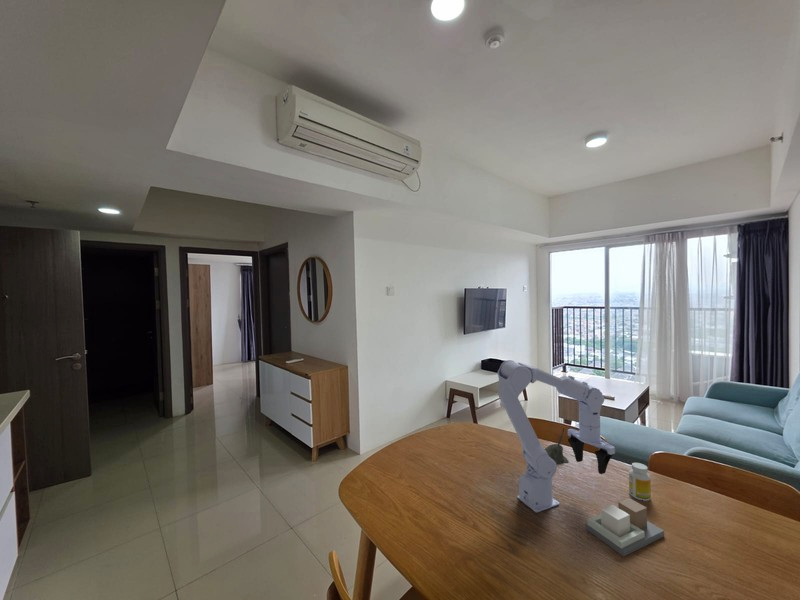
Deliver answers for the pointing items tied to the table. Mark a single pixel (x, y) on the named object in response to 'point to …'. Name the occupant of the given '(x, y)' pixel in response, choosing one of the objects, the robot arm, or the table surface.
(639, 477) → the supplement bottle
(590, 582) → the table surface
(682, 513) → the table surface
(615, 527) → the block
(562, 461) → the sword in stone
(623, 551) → the base plate
